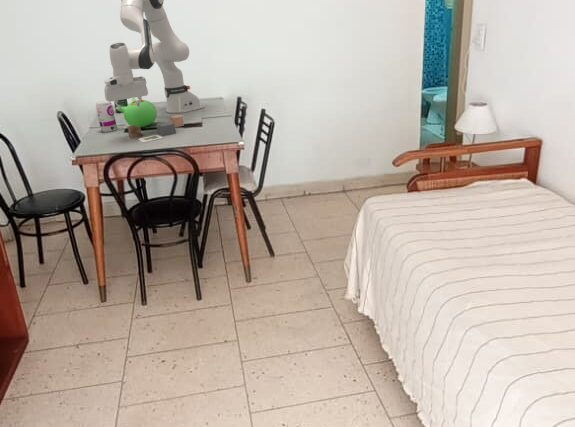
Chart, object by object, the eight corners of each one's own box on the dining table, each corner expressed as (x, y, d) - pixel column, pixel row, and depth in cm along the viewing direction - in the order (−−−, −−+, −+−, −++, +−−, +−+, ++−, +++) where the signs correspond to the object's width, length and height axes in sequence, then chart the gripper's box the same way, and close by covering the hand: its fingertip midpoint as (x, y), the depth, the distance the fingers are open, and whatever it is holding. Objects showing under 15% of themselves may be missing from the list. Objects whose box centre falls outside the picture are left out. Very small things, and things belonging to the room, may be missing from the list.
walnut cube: (139, 134, 264) (137, 124, 262) (142, 136, 260) (140, 126, 258) (129, 136, 262) (127, 126, 260) (132, 138, 258) (130, 128, 256)
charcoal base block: (171, 131, 266) (169, 121, 264) (176, 133, 261) (174, 123, 259) (158, 133, 263) (156, 124, 261) (162, 136, 257) (160, 126, 255)
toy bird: (145, 131, 269) (140, 102, 263) (118, 130, 275) (112, 102, 269) (164, 122, 284) (160, 95, 278) (138, 121, 290) (133, 95, 284)
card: (157, 135, 259) (157, 134, 259) (162, 138, 253) (162, 137, 253) (137, 139, 255) (137, 138, 255) (142, 142, 249) (142, 141, 248)
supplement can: (120, 128, 279) (114, 100, 273) (111, 132, 272) (104, 103, 266) (107, 128, 282) (101, 100, 276) (98, 132, 275) (91, 104, 268)
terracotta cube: (180, 124, 278) (179, 114, 276) (184, 125, 274) (182, 116, 272) (171, 125, 276) (170, 116, 274) (175, 127, 272) (173, 118, 270)
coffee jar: (129, 111, 316) (123, 80, 309) (116, 113, 314) (109, 82, 307) (128, 109, 325) (122, 78, 317) (115, 110, 323) (109, 80, 315)
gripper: (143, 75, 257) (148, 103, 262) (101, 81, 247) (107, 110, 253) (147, 76, 252) (152, 105, 257) (104, 82, 242) (110, 112, 248)
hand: (129, 107), depth 255 cm, fingers open, 8 cm apart
